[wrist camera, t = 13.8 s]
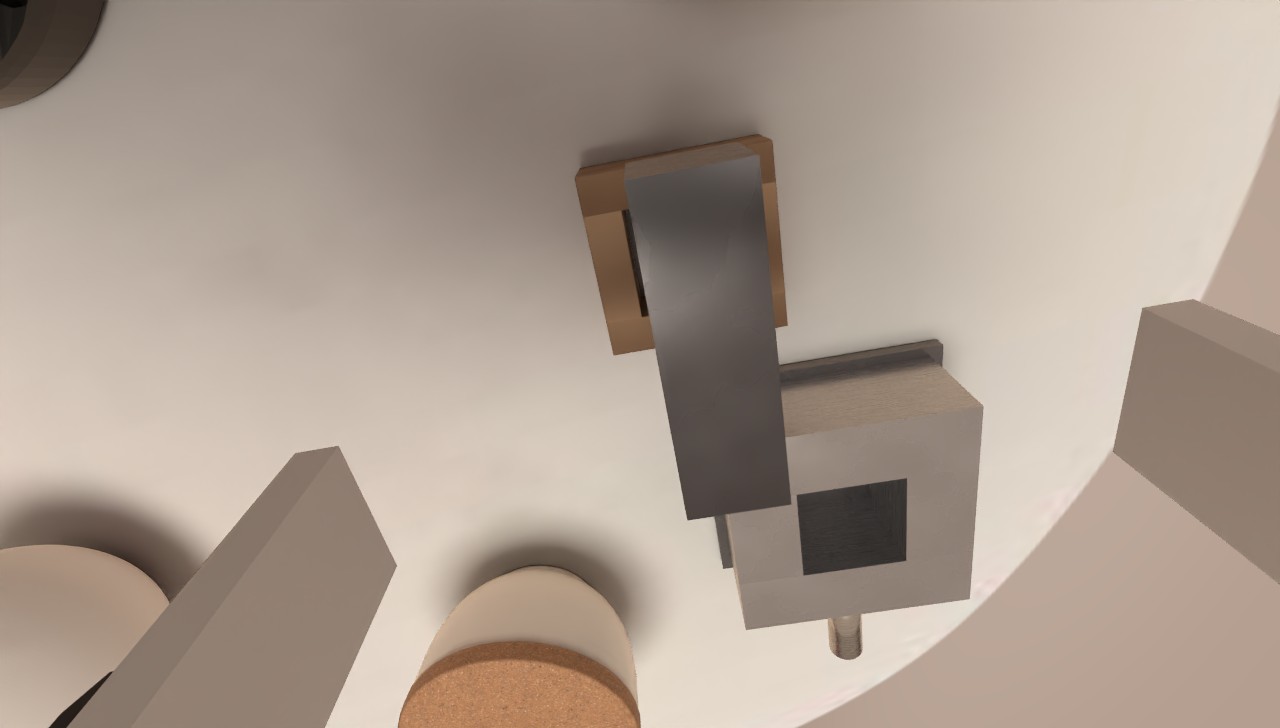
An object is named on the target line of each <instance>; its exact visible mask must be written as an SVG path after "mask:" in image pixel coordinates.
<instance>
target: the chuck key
mask: <svg viewBox="0 0 1280 728" xmlns="http://www.w3.org/2000/svg"><path fill="white" fill-rule="evenodd" d="M624 184H625V189H626V194H627V200H628V205H629V210H630V216H631V221H632V226H633V232H634V237H635V242H636V248H637V253H638V259H639V264H640V269H641V275H642V280H643V285H644V291H645V296H646V301H647V307H648V312H649V317H650V323H651V328H652V333H653V339H654V344H655V349H656V355H657V360H658V365H659V371H660V376H661V381H662V387H663V392H664V397H665V403H666V408H667V413H668V419H669V424H670V429H671V435H672V440H673V445H674V451H675V456H676V461H677V467H678V472H679V478H680V483H681V488H682V494H683V499H684V504H685V510H686V515H687V520H693V519H700V518H706V517H713V516H720V515H726V514H733V513H739V512H746V511H753V510H759V509H766V508H772V507H779V506H786V505H792V504H791V493H790V482H789V471H788V461H787V450H786V439H785V428H784V417H783V406H782V396H781V385H780V374H779V363H778V352H777V341H776V331H775V320H774V309H773V298H772V287H771V276H770V266H769V255H768V244H767V233H766V222H765V211H764V201H763V190H762V179H761V168H760V157H759V155H758V154H757V153H755V152H754V151H752V150H750V149H749V148H747V147H746V146H744V145H742V144H741V143H739V142H732V143H727V144H722V145H717V146H711V147H706V148H701V149H696V150H691V151H685V152H680V153H675V154H670V155H665V156H659V157H654V158H649V159H644V160H639V161H633V162H628V163H625V173H624Z"/></svg>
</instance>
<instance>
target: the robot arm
mask: <svg viewBox="0 0 1280 728" xmlns="http://www.w3.org/2000/svg"><path fill="white" fill-rule="evenodd" d="M102 5H103V0H0V109H1V108H4V107H8V106H12V105H15V104H18V103H21V102H23V101H26V100H28V99H30V98H32V97H34V96H36V95H38V94H40V93H42V92H43V91H45V90H46V89H48V88H49V87H51V86H52V85H53V84H55V83H56V82H57V81H58V80H60V79H61V78H62V77H63V76H64V75H65V74H66V73H67V72H68V71H69V70H70V69H71V68H72V66H73V65H74V64H75V62H76V61H77V60H78V59H79V57H80V56H81V54H82V53H83V51H84V49H85V48H86V46H87V44H88V42H89V40H90V38H91V36H92V34H93V32H94V30H95V27H96V24H97V22H98V19H99V16H100V12H101V8H102ZM1113 452H1114V453H1115V454H1116V455H1118V456H1119V457H1120V458H1121V459H1122V460H1124V461H1125V462H1126V463H1128V464H1129V465H1130V466H1131V467H1133V468H1134V469H1135V470H1136V471H1138V472H1139V473H1140V474H1141V475H1143V476H1144V477H1145V478H1146V479H1148V480H1149V481H1150V482H1151V483H1153V484H1154V485H1155V486H1157V487H1158V488H1159V489H1160V490H1161V491H1163V492H1164V493H1165V494H1166V495H1168V496H1169V497H1170V498H1172V499H1173V500H1174V501H1175V502H1177V503H1178V504H1179V505H1180V506H1182V507H1183V508H1184V509H1185V510H1187V511H1188V512H1189V513H1190V514H1192V515H1193V516H1194V517H1195V518H1197V519H1198V520H1199V521H1200V522H1202V523H1203V524H1204V525H1205V526H1207V527H1208V528H1209V529H1211V530H1212V531H1213V532H1215V533H1216V534H1217V535H1218V536H1219V537H1221V538H1222V539H1223V540H1225V541H1226V542H1227V543H1228V544H1230V545H1231V546H1232V547H1233V548H1234V549H1236V550H1237V551H1238V552H1239V553H1241V554H1242V555H1243V556H1244V557H1246V558H1247V559H1248V560H1250V561H1251V562H1252V563H1253V564H1255V565H1256V566H1257V567H1258V568H1260V569H1261V570H1262V571H1263V572H1265V573H1266V574H1267V575H1269V576H1270V577H1271V578H1272V579H1273V580H1275V581H1276V582H1277V583H1278V584H1280V335H1278V334H1275V333H1273V332H1271V331H1268V330H1266V329H1263V328H1261V327H1258V326H1256V325H1254V324H1251V323H1249V322H1247V321H1244V320H1242V319H1239V318H1237V317H1235V316H1232V315H1230V314H1227V313H1225V312H1222V311H1220V310H1218V309H1215V308H1213V307H1210V306H1208V305H1206V304H1203V303H1201V302H1199V301H1196V300H1194V299H1192V300H1186V301H1180V302H1174V303H1169V304H1163V305H1157V306H1151V307H1145V308H1142V312H1141V317H1140V322H1139V327H1138V332H1137V337H1136V342H1135V347H1134V351H1133V356H1132V361H1131V366H1130V371H1129V376H1128V381H1127V385H1126V390H1125V395H1124V400H1123V405H1122V410H1121V415H1120V420H1119V424H1118V429H1117V434H1116V439H1115V444H1114V449H1113ZM396 567H397V565H396V563H395V561H394V559H393V557H392V555H391V553H390V551H389V548H388V546H387V544H386V542H385V540H384V538H383V536H382V534H381V532H380V530H379V528H378V526H377V524H376V522H375V520H374V518H373V516H372V514H371V512H370V509H369V507H368V505H367V503H366V501H365V499H364V497H363V495H362V493H361V491H360V489H359V487H358V485H357V483H356V481H355V479H354V477H353V475H352V473H351V471H350V468H349V466H348V464H347V462H346V460H345V458H344V456H343V454H342V452H341V450H340V448H339V446H335V447H329V448H323V449H318V450H312V451H306V452H300V453H295V454H294V455H293V457H292V458H291V459H290V460H289V461H288V463H287V464H286V465H285V466H284V467H283V469H282V470H281V471H280V472H279V473H278V475H277V476H276V477H275V478H274V479H273V481H272V482H271V483H270V484H269V485H268V487H267V488H266V489H265V490H264V491H263V493H262V494H261V495H260V496H259V497H258V499H257V500H256V501H255V502H254V503H253V505H252V506H251V507H250V508H249V509H248V511H247V512H246V513H245V514H244V515H243V517H242V518H241V519H240V520H239V521H238V523H237V524H236V525H235V526H234V527H233V529H232V530H231V531H230V532H229V533H228V535H227V536H226V537H225V538H224V539H223V541H222V542H221V543H220V544H219V545H218V547H217V548H216V549H215V550H214V551H213V553H212V554H211V555H210V556H209V557H208V559H207V560H206V561H205V562H204V563H203V565H202V566H201V567H200V568H199V569H198V571H197V572H196V573H195V574H194V575H193V577H192V578H191V579H190V580H189V581H188V583H187V584H186V585H185V586H184V587H183V589H182V590H181V591H180V592H179V593H178V595H177V596H176V597H175V598H174V599H173V601H172V602H171V603H170V604H169V605H168V607H167V608H166V609H165V610H164V611H163V613H162V614H161V615H160V616H159V617H158V619H157V620H156V621H155V622H154V623H153V625H152V626H151V627H150V628H149V629H148V631H147V632H146V633H145V634H144V635H143V637H142V638H141V639H140V640H139V641H138V643H137V644H136V645H135V646H134V647H133V649H132V650H131V651H130V652H129V653H128V655H127V656H126V657H125V658H124V659H123V661H122V662H121V663H120V664H119V665H118V667H117V668H116V669H115V670H114V671H112V672H109V673H108V674H107V675H106V676H104V677H103V678H102V679H101V680H100V681H99V682H97V683H96V684H95V685H94V686H93V687H91V688H90V689H89V690H88V691H87V692H86V693H84V694H83V695H82V696H81V697H80V698H79V699H77V700H76V701H75V702H74V703H73V704H71V705H70V706H69V707H68V708H67V709H66V710H64V711H63V712H62V713H61V714H60V715H59V716H58V717H57V718H56V720H55V721H54V722H53V723H52V724H51V725H50V727H49V728H325V726H326V724H327V721H328V719H329V717H330V715H331V712H332V710H333V708H334V706H335V703H336V701H337V699H338V697H339V694H340V692H341V690H342V688H343V686H344V683H345V681H346V679H347V677H348V674H349V672H350V670H351V668H352V665H353V663H354V661H355V659H356V656H357V654H358V652H359V650H360V647H361V645H362V643H363V641H364V638H365V636H366V634H367V632H368V629H369V627H370V625H371V623H372V620H373V618H374V616H375V614H376V612H377V609H378V607H379V605H380V603H381V600H382V598H383V596H384V594H385V591H386V589H387V587H388V585H389V582H390V580H391V578H392V576H393V573H394V571H395V569H396Z"/></svg>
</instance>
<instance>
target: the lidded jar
mask: <svg viewBox="0 0 1280 728" xmlns="http://www.w3.org/2000/svg"><path fill="white" fill-rule="evenodd" d="M398 728H641V724H640V713H639V710H638V694H637V676H636V669H635V663H634V657H633V654H632V650H631V646H630V643H629V639H628V636H627V633H626V631H625V628H624V626H623V624H622V622H621V620H620V619H619V617H618V615H617V613H616V612H615V610H614V609H613V608H612V607H611V605H610V604H609V603H608V602H607V600H606V599H605V598H604V597H603V596H602V595H601V594H600V593H599V592H597V591H596V590H595V589H594V588H592V587H591V586H589V585H588V584H587V583H586V582H585V581H584V580H583V579H581V578H580V577H578V576H577V575H575V574H573V573H571V572H569V571H567V570H564V569H561V568H557V567H552V566H543V565H538V566H528V567H523V568H519V569H516V570H514V571H511V572H509V573H507V574H505V575H502V576H499V577H497V578H494V579H492V580H490V581H488V582H486V583H485V584H483V585H482V586H480V587H478V588H477V589H475V590H474V591H472V592H471V593H470V594H469V595H468V596H466V597H465V598H464V599H463V600H462V601H461V602H460V603H459V604H458V605H457V606H456V607H455V608H454V609H453V611H452V612H451V613H450V615H449V616H448V617H447V619H446V620H445V622H444V623H443V624H442V626H441V627H440V629H439V630H438V632H437V634H436V635H435V637H434V639H433V641H432V643H431V645H430V647H429V649H428V651H427V653H426V655H425V658H424V660H423V662H422V665H421V667H420V670H419V672H418V674H417V677H416V680H415V683H414V684H413V685H412V687H411V689H410V691H409V693H408V696H407V698H406V700H405V702H404V705H403V708H402V710H401V713H400V718H399V723H398Z"/></svg>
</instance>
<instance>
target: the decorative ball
mask: <svg viewBox="0 0 1280 728" xmlns="http://www.w3.org/2000/svg"><path fill="white" fill-rule="evenodd" d="M169 604H170V603H169V601H168V599H167V598H166V596H165V594H164V593H163V592H162V590H161V589H160V588H159V587H158V585H157V584H156V583H155V582H154V581H153V580H152V579H151V578H150V577H149V576H148V575H146V574H145V573H144V572H143V571H141V570H140V569H138V568H137V567H135V566H134V565H132V564H130V563H129V562H127V561H125V560H123V559H120V558H118V557H116V556H113V555H111V554H108V553H105V552H101V551H98V550H94V549H89V548H84V547H77V546H69V545H30V546H20V547H13V548H6V549H1V550H0V728H49V727H50V725H51V724H52V723H53V722H54V721H55V720H56V718H57V717H58V716H59V715H60V714H61V713H62V712H63V711H64V710H66V709H67V708H68V707H69V706H70V705H71V704H73V703H74V702H75V701H76V700H77V699H79V698H80V697H81V696H82V695H83V694H84V693H86V692H87V691H88V690H89V689H90V688H91V687H93V686H94V685H95V684H96V683H97V682H99V681H100V680H101V679H102V678H103V677H104V676H106V675H107V674H108V673H109V672H112V671H114V670H115V669H116V668H117V667H118V665H119V664H120V663H121V662H122V661H123V659H124V658H125V657H126V656H127V655H128V653H129V652H130V651H131V650H132V649H133V647H134V646H135V645H136V644H137V643H138V641H139V640H140V639H141V638H142V637H143V635H144V634H145V633H146V632H147V631H148V629H149V628H150V627H151V626H152V625H153V623H154V622H155V621H156V620H157V619H158V617H159V616H160V615H161V614H162V613H163V611H164V610H165V609H166V608H167V607H168V605H169Z"/></svg>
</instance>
